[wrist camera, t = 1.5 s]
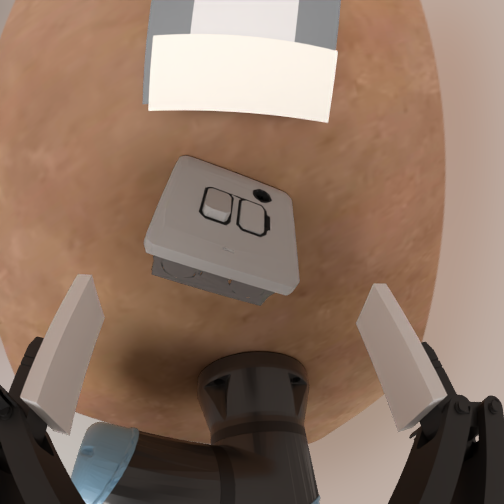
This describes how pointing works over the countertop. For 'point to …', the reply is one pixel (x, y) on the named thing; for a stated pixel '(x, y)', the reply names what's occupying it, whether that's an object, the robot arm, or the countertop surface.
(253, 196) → the electrical switch
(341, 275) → the countertop surface
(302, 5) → the rail plate
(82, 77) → the countertop surface
